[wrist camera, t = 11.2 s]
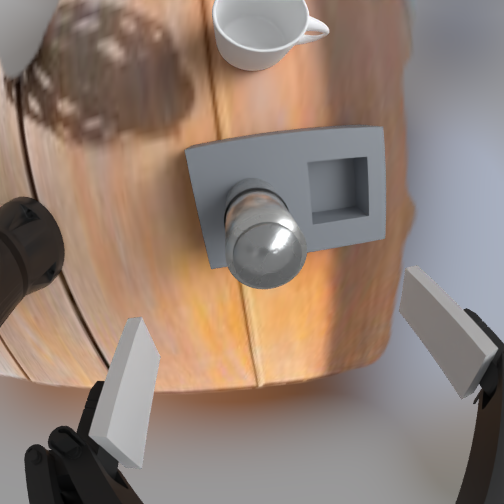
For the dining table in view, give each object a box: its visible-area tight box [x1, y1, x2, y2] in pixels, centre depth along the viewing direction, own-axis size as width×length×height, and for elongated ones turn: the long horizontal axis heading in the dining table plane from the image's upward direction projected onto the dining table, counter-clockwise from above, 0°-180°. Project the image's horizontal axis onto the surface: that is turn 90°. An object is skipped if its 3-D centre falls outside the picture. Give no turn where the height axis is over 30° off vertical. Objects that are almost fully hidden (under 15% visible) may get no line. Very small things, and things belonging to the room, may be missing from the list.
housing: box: [185, 125, 386, 269], centre depth 34 cm, size 22×14×6 cm, turn 99°
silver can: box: [224, 178, 307, 289], centre depth 25 cm, size 6×6×13 cm
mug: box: [212, 0, 329, 71], centre depth 23 cm, size 9×12×11 cm
